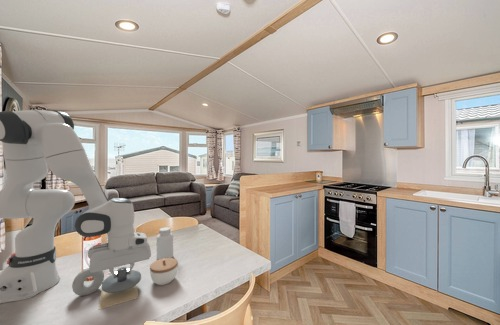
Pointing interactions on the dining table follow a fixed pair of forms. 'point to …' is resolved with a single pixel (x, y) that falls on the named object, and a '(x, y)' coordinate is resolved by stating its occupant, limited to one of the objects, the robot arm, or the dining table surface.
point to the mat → (117, 297)
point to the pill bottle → (164, 243)
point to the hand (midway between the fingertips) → (122, 275)
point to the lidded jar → (163, 270)
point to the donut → (85, 290)
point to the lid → (121, 281)
